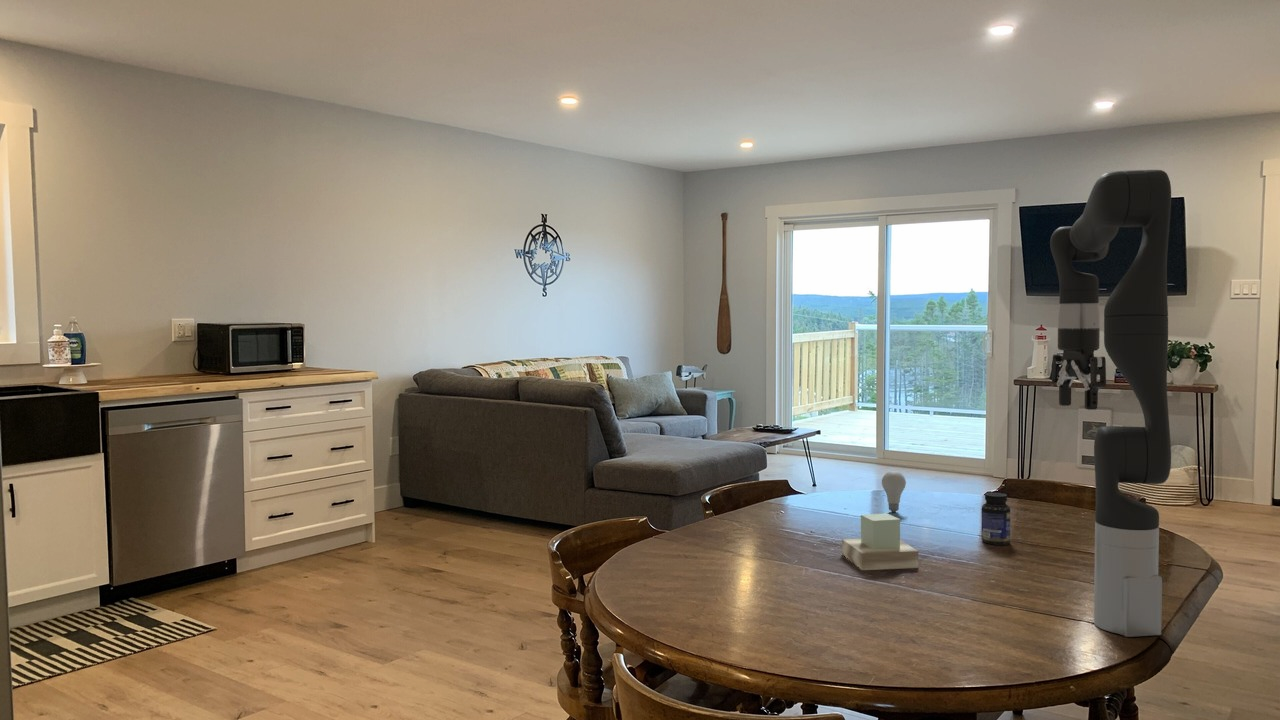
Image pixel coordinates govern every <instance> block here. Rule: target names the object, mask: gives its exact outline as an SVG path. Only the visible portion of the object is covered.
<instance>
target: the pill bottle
mask: <svg viewBox="0 0 1280 720" xmlns="http://www.w3.org/2000/svg"><path fill="white" fill-rule="evenodd" d="M984 500H985V502H984V503H983V504H982V506H981V541H982V542H983V543H985V544H988V545H993V546H994V545H995V546H1007V545H1009V544H1010V543H1011V507H1010V506H1009V505H1008V504H1007V501H1008V495H1007V494H1006V493H1001V492H987V493H984Z"/></svg>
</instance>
